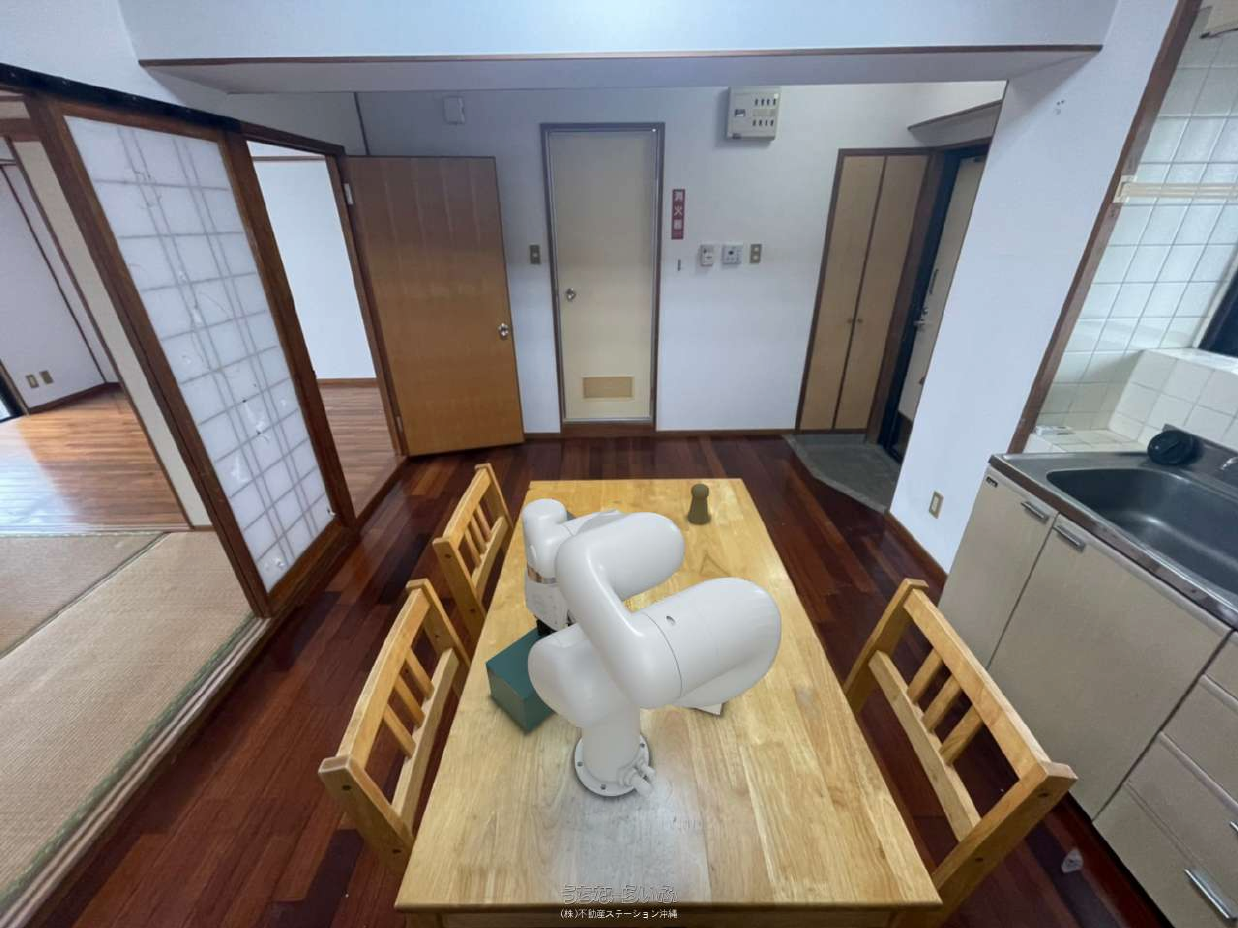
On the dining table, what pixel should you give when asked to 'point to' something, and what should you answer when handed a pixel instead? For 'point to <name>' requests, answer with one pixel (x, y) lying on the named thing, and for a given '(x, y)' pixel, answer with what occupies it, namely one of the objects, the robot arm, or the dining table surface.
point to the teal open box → (518, 703)
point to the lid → (517, 663)
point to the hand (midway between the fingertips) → (555, 639)
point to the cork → (699, 504)
